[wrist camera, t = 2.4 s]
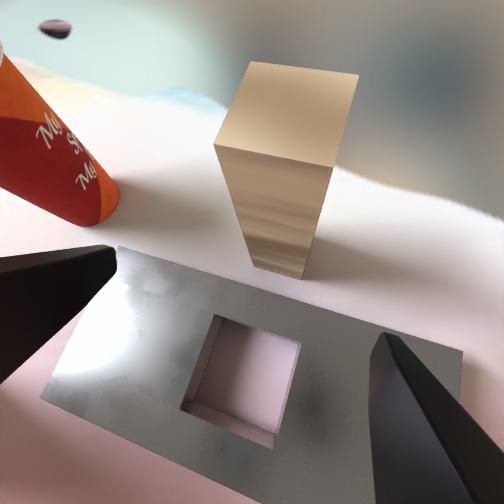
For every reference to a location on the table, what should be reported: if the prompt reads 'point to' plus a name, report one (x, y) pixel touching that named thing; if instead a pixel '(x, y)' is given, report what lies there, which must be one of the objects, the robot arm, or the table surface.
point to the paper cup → (48, 156)
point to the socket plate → (192, 370)
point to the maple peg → (282, 157)
